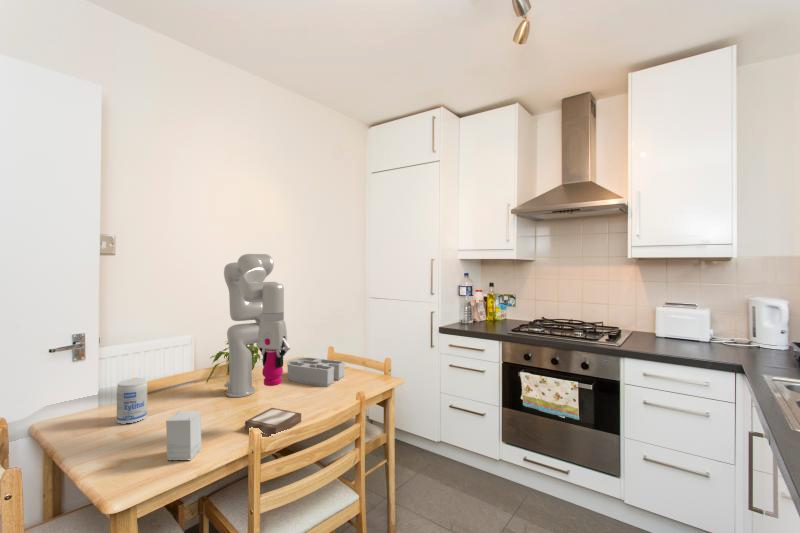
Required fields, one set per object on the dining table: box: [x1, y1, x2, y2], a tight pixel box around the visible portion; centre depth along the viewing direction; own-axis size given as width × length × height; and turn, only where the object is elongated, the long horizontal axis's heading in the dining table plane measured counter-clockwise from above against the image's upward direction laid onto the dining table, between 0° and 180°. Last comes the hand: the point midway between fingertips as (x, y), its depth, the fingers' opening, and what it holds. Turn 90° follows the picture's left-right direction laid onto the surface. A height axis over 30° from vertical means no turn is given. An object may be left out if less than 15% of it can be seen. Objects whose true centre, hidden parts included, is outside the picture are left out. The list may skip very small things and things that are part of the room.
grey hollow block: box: [286, 357, 346, 388], centre depth 198 cm, size 17×28×9 cm, turn 68°
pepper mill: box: [261, 338, 284, 387], centre depth 142 cm, size 7×7×20 cm
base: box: [244, 407, 302, 436], centre depth 142 cm, size 14×14×3 cm
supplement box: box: [165, 410, 202, 461], centre depth 121 cm, size 7×7×13 cm
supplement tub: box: [116, 377, 148, 425], centre depth 147 cm, size 10×10×15 cm
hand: (273, 365), depth 142 cm, fingers closed on pepper mill, 5 cm apart
